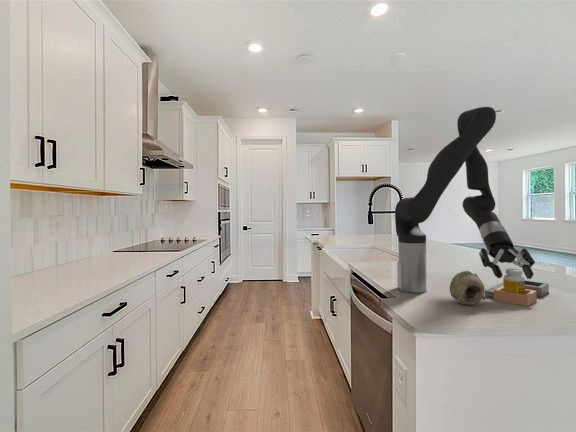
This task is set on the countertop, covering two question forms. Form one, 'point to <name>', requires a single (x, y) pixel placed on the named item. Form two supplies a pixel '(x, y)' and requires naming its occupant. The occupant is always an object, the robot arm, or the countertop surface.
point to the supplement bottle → (514, 281)
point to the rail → (529, 285)
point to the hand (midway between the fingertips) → (515, 277)
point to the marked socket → (515, 296)
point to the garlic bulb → (467, 288)
